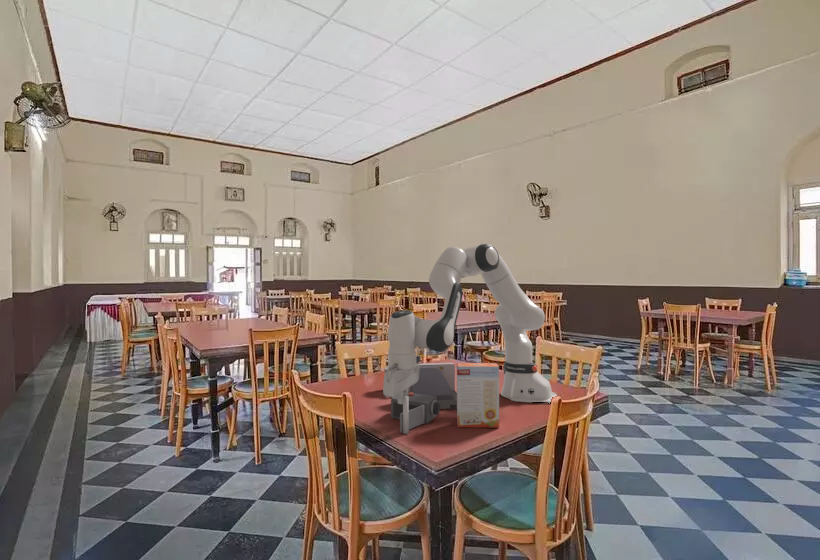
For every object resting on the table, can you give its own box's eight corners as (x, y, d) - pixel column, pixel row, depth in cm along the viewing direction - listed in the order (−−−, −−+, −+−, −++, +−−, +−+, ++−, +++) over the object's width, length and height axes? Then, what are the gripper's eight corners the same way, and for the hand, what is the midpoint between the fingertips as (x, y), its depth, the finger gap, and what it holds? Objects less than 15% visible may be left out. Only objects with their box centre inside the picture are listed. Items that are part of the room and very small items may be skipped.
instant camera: (457, 395, 184) (457, 360, 184) (461, 411, 163) (461, 371, 163) (407, 395, 185) (406, 359, 184) (404, 411, 164) (404, 371, 164)
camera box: (441, 416, 158) (441, 394, 158) (433, 424, 149) (433, 401, 149) (401, 410, 164) (401, 389, 164) (390, 418, 156) (390, 396, 156)
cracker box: (496, 422, 152) (497, 362, 151) (499, 428, 146) (499, 366, 145) (456, 421, 152) (456, 361, 152) (457, 427, 146) (457, 365, 146)
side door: (422, 422, 151) (422, 388, 151) (428, 424, 149) (428, 389, 149) (399, 432, 142) (399, 396, 142) (406, 434, 140) (406, 397, 140)
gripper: (396, 368, 131) (396, 414, 132) (422, 355, 150) (422, 395, 150) (378, 366, 134) (378, 411, 134) (405, 354, 152) (405, 393, 153)
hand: (401, 402), depth 142 cm, fingers closed
